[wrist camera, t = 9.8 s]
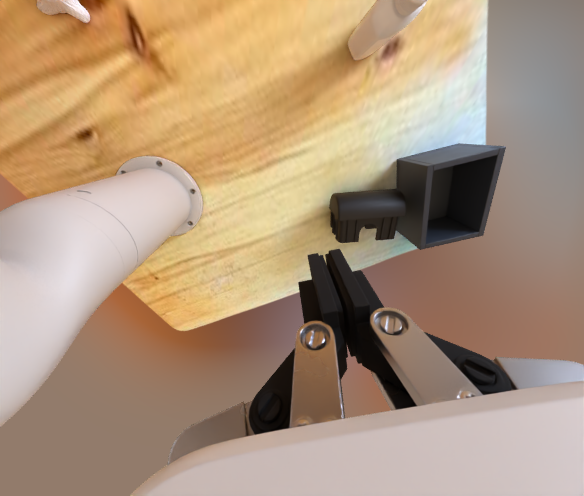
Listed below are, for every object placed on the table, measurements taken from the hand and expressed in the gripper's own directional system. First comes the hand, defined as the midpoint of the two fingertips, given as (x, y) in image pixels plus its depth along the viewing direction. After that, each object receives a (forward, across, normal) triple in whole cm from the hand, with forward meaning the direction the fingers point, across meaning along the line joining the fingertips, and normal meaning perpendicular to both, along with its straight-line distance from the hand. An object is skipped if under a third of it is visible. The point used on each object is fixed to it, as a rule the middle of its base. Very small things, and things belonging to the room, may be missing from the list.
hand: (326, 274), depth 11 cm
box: (+25, -22, +6) cm, 34 cm away
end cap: (+26, -10, +7) cm, 28 cm away
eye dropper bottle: (+26, -12, -15) cm, 32 cm away
